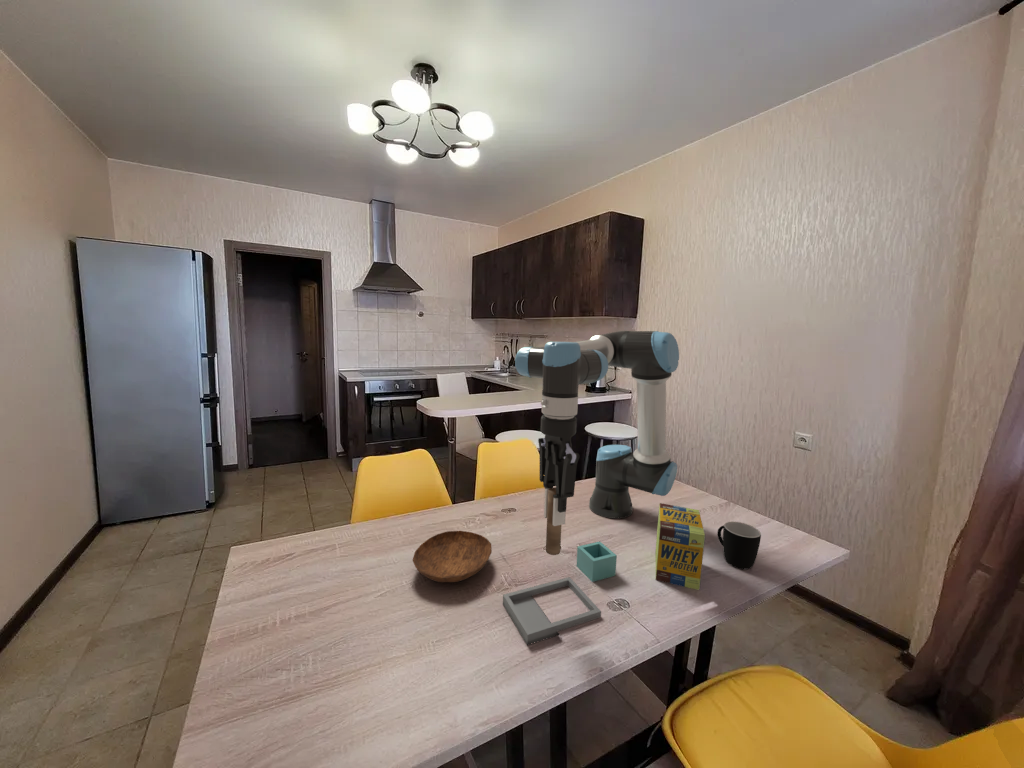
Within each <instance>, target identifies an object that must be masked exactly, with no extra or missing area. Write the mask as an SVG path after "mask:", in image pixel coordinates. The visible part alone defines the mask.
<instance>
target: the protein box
mask: <svg viewBox="0 0 1024 768" xmlns="http://www.w3.org/2000/svg"><path fill="white" fill-rule="evenodd" d="M657 516H658V517H657V518H658V520H657V528H656V529H657V530H656V539H655V540H656V541H655V555H654V556H655V581H658V582H662V583H666V584H667V583H668V584H672V585H675V586H680V587H683V588H688V589H691V590H692V589H693V590H698V591H699V590H700V587H701V577H702V568H703V559H704V548H705V540H706V534H705V529H704V525H703V522H702V521H703V520H702V517H701V513H700V509H695V508H688V507H684V506H678V505H673V504H667V503H662V502H659V507H658V515H657Z"/></svg>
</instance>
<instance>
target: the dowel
mask: <svg viewBox="0 0 1024 768" xmlns="http://www.w3.org/2000/svg"><path fill="white" fill-rule="evenodd" d="M555 494H556V488H554V487H553V488H550V489H548V507H547V518H546V535H545V553H547V555H551V556H557V555H559V554H561V545H562V544H561V542H562V525H558V526H553V525H552V524H553V500H554V497H553V495H555Z"/></svg>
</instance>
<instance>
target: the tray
mask: <svg viewBox="0 0 1024 768" xmlns="http://www.w3.org/2000/svg"><path fill="white" fill-rule="evenodd" d="M564 587H569V588H570V590H571V591H573V593H574V594H575V596H577V598H578V599H579V600H580V601H581V602H582V603H583V604H584V606H586V608H587V609H588V611H585V612H583V613H579V614H577V615H573V616H570V617H566V618H563V619H559V620H557V621H554V622H551V620H550V619H549V618H548V616H547V615H546V613H545V612H544V610H543V609H542V608H541V606H540V605H539V604H538V602H537V601H536V599H535V598H534V596H536V595H538V594H539V595H540V594H543V593H546V592H549V591H553V590H556V589H557V590H558V589H561V588H564ZM502 605H503V608H504V609H505V610H506V612H507V614H508V615H509V617H510V619H511V621H512V622H513V624H514V626H515V627H516V629H517V631H518V632H519V634H520V636H521V638H522V637H523V638H522V639H523V641H524V642H526V643H525V644H526V646H529V645H528V644H530V645H532V644H531V643H533V644H535V643H534V642H536V643H538V642H537V641H539V642H541V640H542V641H544V640H543V639H545V640H547V639H546V638H548V639H551V638H554V637H556V635H557V636H560V635H559V634H560V633H559V632H560V631H563V630H567V629H569V628H572V627H576V626H579V625H582V624H584V623H588V622H590V621H593V620H596V619H600V618H601V617H602V611H601V609H600V608H599V607H598V606H597V605H596V604H595V603H594V601H592V599H590V598H589V596H588V595H587V594H586V593H585V592H584V591H583V590H582V589H581V588H580V587H579V585H578V584H577V583H576V582H575V581H574V580H573V579H572V578H571V577H570V576H568V577H565V578H559V579H556V580H552V581H549V582H545V583H542V584H538V585H534V586H530V587H526V588H523V589H519V590H516V591H512V592H508V593H504V594H502ZM553 636H554V637H553ZM550 637H551V638H550Z"/></svg>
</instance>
